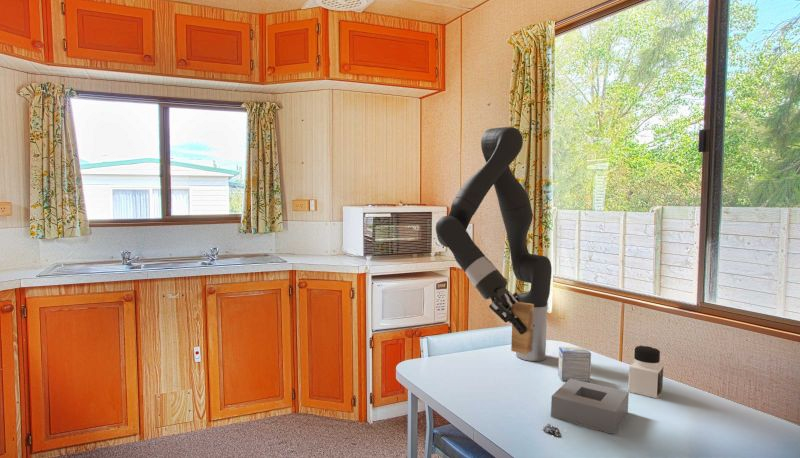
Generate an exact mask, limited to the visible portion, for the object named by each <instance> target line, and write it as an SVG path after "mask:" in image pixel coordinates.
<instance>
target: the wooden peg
mask: <svg viewBox="0 0 800 458" xmlns="http://www.w3.org/2000/svg"><path fill="white" fill-rule="evenodd" d="M513 308H514V309H513V311H514V312H515V313H516V314H517V316H518V318H519V319H520V320H521V321H522V322H523V324H524V325H525V326H526V327H527V329H528V330H527V331H526V332H525V333H524V334H520V333H519V332H518V331H517V329H516V328H515V327H514V325H513V324H512V323H511V349H510V350H511V352H514V353H516V352H518V353H523V354H527V353H529V352H530V351H532V345H533V317H534V304H530V303H523V302H518V303H515V304H513Z"/></svg>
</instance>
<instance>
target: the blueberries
mask: <svg viewBox="0 0 800 458" xmlns="http://www.w3.org/2000/svg"><path fill="white" fill-rule="evenodd" d="M541 431H542V432H544V433H545V434H547V435H549V436H552V435H553V436H554V437H553V436H552V437H553V438H562V435H561V433H560V429H559V428H558V427H557V426H553V425H551V423H547V424H546V425H545V426H543V428H541ZM564 431H565V434H567V432H566V429H564Z"/></svg>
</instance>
